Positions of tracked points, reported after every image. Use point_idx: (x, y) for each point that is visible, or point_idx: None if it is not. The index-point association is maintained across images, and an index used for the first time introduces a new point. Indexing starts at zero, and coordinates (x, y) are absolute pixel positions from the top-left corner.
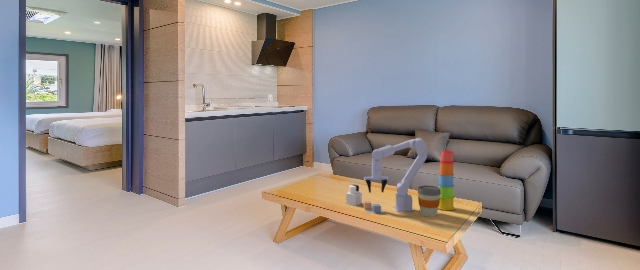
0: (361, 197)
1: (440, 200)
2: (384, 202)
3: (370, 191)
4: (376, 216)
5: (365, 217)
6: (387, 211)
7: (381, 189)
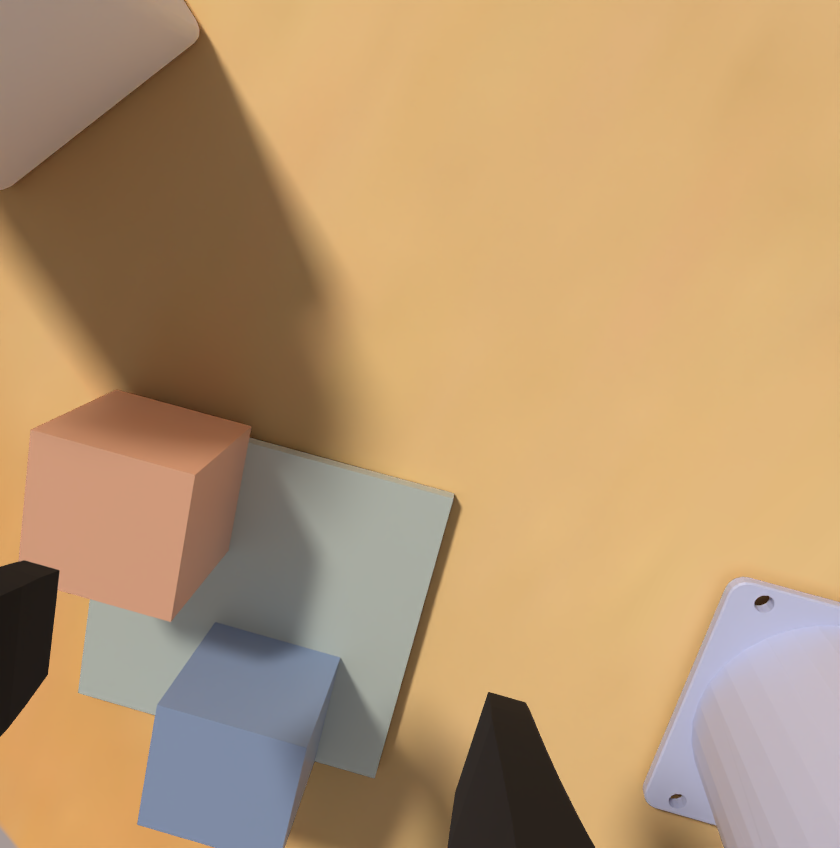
0: (107, 10)
1: None
2: (812, 124)
3: (3, 715)
4: None
5: (9, 804)
6: None
7: (490, 741)
